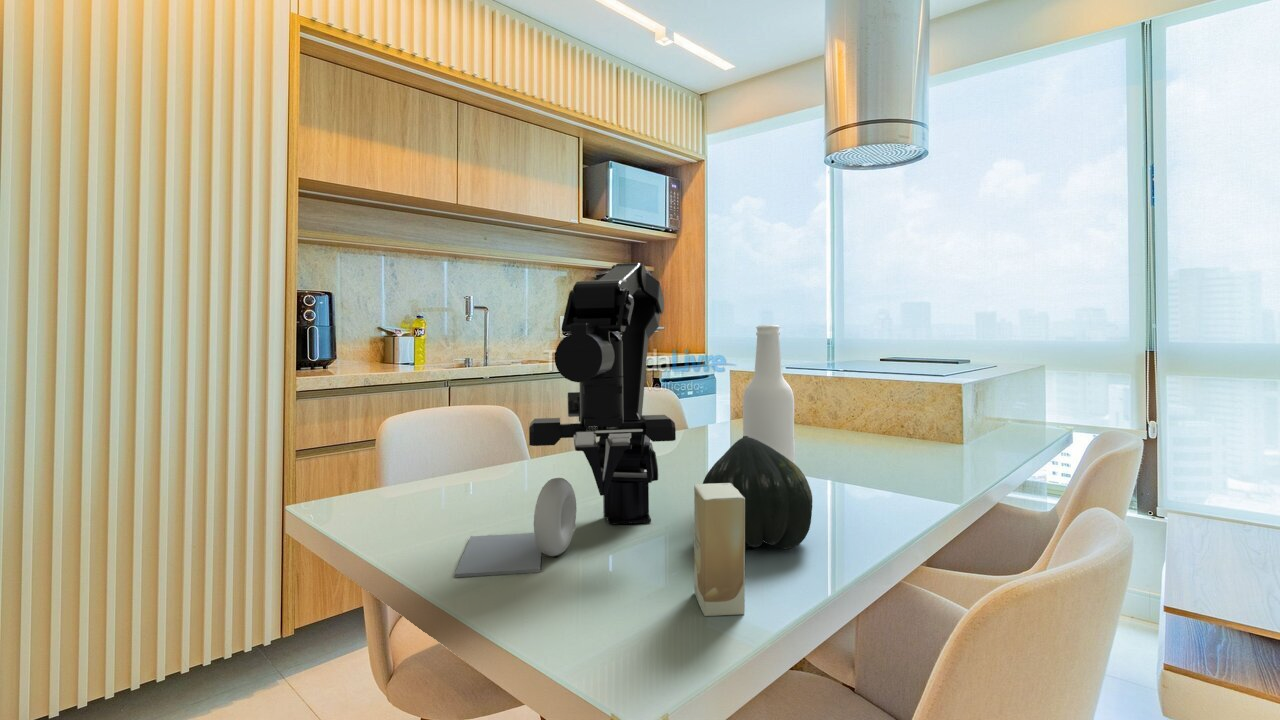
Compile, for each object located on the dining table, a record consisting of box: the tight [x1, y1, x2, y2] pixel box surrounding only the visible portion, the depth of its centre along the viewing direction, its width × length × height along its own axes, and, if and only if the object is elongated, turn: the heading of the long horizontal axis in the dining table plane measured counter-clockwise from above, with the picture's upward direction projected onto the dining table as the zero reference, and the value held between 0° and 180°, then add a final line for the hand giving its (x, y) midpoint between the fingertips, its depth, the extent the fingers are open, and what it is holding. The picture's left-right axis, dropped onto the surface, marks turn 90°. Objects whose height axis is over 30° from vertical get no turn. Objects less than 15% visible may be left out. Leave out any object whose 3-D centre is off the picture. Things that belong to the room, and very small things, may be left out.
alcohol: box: [742, 324, 795, 464], centre depth 108 cm, size 9×9×30 cm
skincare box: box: [693, 483, 746, 617], centre depth 65 cm, size 6×4×12 cm
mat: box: [454, 532, 542, 578], centre depth 81 cm, size 10×14×1 cm
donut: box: [533, 477, 577, 557], centre depth 81 cm, size 10×3×10 cm, turn 168°
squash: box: [702, 435, 813, 550], centre depth 85 cm, size 14×15×15 cm
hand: (602, 494), depth 81 cm, fingers closed
